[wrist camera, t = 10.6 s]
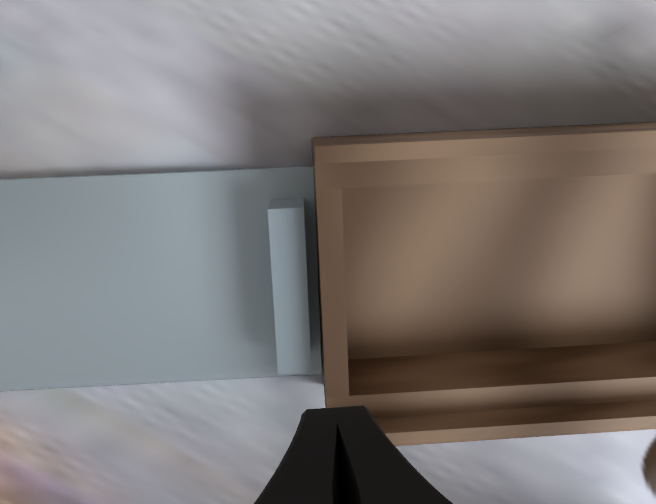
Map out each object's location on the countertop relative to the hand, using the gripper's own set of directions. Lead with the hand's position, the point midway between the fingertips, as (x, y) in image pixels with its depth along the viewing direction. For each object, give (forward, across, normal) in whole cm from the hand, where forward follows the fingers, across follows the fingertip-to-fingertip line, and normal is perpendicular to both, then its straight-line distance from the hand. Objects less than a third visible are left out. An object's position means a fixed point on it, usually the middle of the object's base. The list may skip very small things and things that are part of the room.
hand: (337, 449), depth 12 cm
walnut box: (+10, -8, -1) cm, 13 cm away
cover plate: (+11, +8, -1) cm, 13 cm away
